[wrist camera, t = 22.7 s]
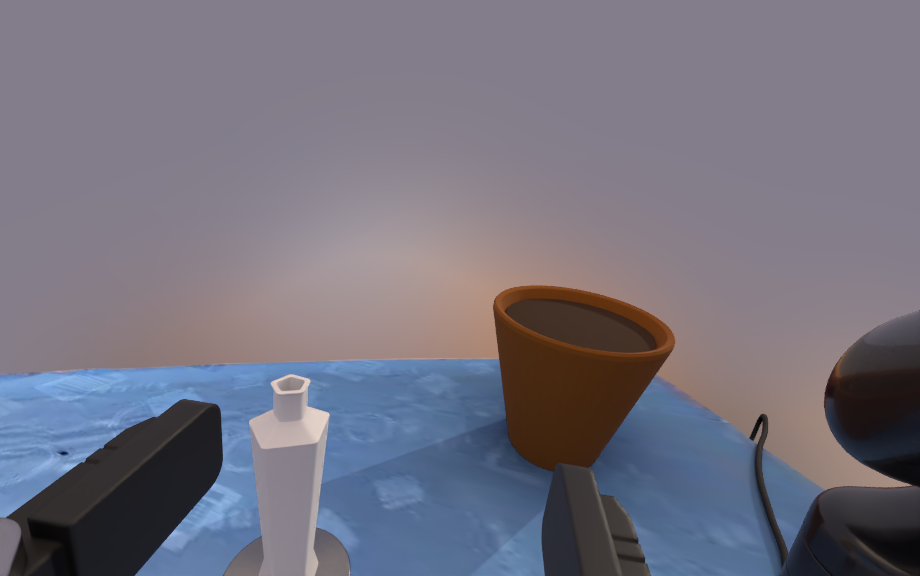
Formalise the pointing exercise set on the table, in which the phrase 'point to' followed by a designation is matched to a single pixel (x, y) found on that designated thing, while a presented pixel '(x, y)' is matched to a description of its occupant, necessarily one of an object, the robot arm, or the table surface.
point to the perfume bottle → (289, 477)
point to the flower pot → (572, 369)
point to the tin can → (326, 546)
